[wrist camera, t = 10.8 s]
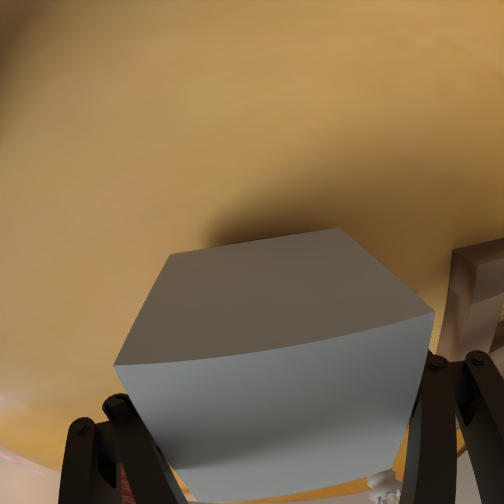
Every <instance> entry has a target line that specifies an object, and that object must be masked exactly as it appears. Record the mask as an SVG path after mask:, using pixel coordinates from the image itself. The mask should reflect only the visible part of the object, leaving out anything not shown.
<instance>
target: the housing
mask: <svg viewBox="0 0 504 504" xmlns="http://www.w3.org/2000/svg"><path fill="white" fill-rule="evenodd" d="M434 316H435V311H434V310H433V309H432V308H431V307H430V306H429V305H428V304H427V303H426V302H425V301H424V300H423V299H421V298H420V297H419V296H418V295H417V294H416V293H415V292H414V291H413V290H412V289H411V288H409V287H408V286H407V285H406V284H405V283H404V282H403V281H402V280H401V279H399V278H398V277H397V276H396V275H395V274H394V273H393V272H391V271H390V270H389V269H388V268H387V267H386V266H385V265H383V264H382V263H381V262H380V261H379V260H378V259H376V258H375V257H374V256H373V255H372V254H371V253H369V252H368V251H367V250H366V249H365V248H363V247H362V246H361V245H360V244H359V243H357V242H356V241H355V240H354V239H353V238H351V237H350V236H349V235H348V234H347V233H345V232H344V231H343V230H342V229H340V228H333V229H326V230H319V231H313V232H307V233H300V234H294V235H287V236H281V237H275V238H268V239H262V240H256V241H250V242H243V243H237V244H231V245H225V246H219V247H212V248H206V249H200V250H194V251H188V252H182V253H176V254H170V256H169V257H168V259H167V261H166V263H165V265H164V267H163V268H162V270H161V272H160V274H159V276H158V278H157V279H156V281H155V283H154V285H153V287H152V289H151V291H150V293H149V294H148V296H147V298H146V300H145V302H144V304H143V306H142V308H141V310H140V312H139V314H138V316H137V318H136V320H135V322H134V324H133V326H132V328H131V330H130V332H129V334H128V336H127V338H126V340H125V342H124V344H123V346H122V348H121V350H120V352H119V354H118V356H117V359H116V361H115V363H114V365H113V366H114V369H115V371H116V373H117V375H118V377H119V378H120V380H121V382H122V384H123V386H124V388H125V390H126V392H127V394H128V396H129V397H130V399H131V401H132V403H133V405H134V406H135V408H136V410H137V412H138V413H139V415H140V417H141V419H142V420H143V422H144V424H145V425H146V427H147V429H148V430H149V432H150V433H151V435H152V437H153V438H154V440H155V441H156V443H157V445H158V446H159V448H160V449H161V451H162V452H163V454H164V455H165V457H166V458H167V460H168V461H169V462H170V464H171V465H172V467H173V468H174V470H175V471H176V472H177V474H178V475H179V477H180V478H181V479H182V481H183V482H184V483H185V485H186V486H187V487H188V489H189V490H190V491H191V493H192V494H193V495H194V496H195V498H196V499H197V500H198V501H199V502H218V501H237V500H250V499H260V498H268V497H276V496H283V495H289V494H295V493H301V492H306V491H311V490H316V489H321V488H325V487H330V486H334V485H338V484H342V483H346V482H350V481H353V480H357V479H360V478H364V477H367V476H370V475H373V474H376V473H379V472H382V471H385V470H388V469H391V467H392V465H393V463H394V460H395V458H396V455H397V453H398V450H399V447H400V445H401V442H402V439H403V437H404V434H405V431H406V428H407V425H408V422H409V419H410V416H411V413H412V410H413V406H414V403H415V400H416V396H417V393H418V389H419V385H420V382H421V378H422V374H423V370H424V366H425V361H426V357H427V352H428V348H429V343H430V338H431V333H432V327H433V322H434Z"/></svg>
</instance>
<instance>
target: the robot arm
mask: <svg viewBox="0 0 504 504" xmlns="http://www.w3.org/2000/svg"><path fill="white" fill-rule="evenodd" d="M102 410H103V411H104V413H105V414H106V416H107V417H108V419H109V421H106V422H101V423H97V424H95V423H94V422H93V420H92V419H90V418H88V417H82V418H78V419H77V420H75V421H73V423H72V424H71V425H70V427H69V430H68V435H67V441H66V447H65V453H64V459H63V466H62V473H61V481H60V490H59V499H58V504H122V488H121V463H122V465H123V468H124V471H125V474H126V477H127V480H128V483H129V486H130V489H131V492H132V495H133V498H134V500H135V503H136V504H188V502H187V500H186V498H185V496H184V495H183V493H182V491H181V489H180V487H179V485H178V483H177V481H176V479H175V477H174V475H173V473H172V471H171V469H170V467H169V465H168V462H167V460H166V458H165V456H164V454H163V452H162V451H161V449H160V448H159V446H158V445H157V443H156V441H155V440H154V438H153V437H152V435H151V433H150V432H149V430H148V429H147V427H146V425H145V424H144V422H143V420H142V419H141V417H140V415H139V413H138V412H137V410H136V408H135V406H134V405H133V403H132V401H131V399H130V397H129V396H128V395H127V394H122V393H119V394H114V395H112V396H110V397H109V398H107V399H106V400H105V402H104V403H103V406H102ZM455 415H456V417H457V420H458V423H459V426H460V429H461V432H462V435H463V438H464V441H465V444H466V447H467V450H468V454H469V457H470V460H471V464H472V467H473V470H474V474H475V478H476V482H477V485H478V489H479V494H480V498H481V503H482V504H504V379H503V377H502V376H501V374H500V372H499V371H498V369H497V367H496V365H495V364H494V362H493V361H492V359H491V357H490V356H489V355H488V354H487V353H485V352H484V351H480V350H473V351H470V352H469V353H468V354H467V355H466V357H465V360H464V361H455V362H449V361H448V360H447V359H446V358H445V357H443V356H440V355H433V354H432V352H431V351H430V350H429V349H428V352H427V357H426V361H425V366H424V370H423V374H422V378H421V382H420V385H419V389H418V393H417V396H416V400H415V403H414V406H413V410H412V413H411V416H410V423H409V435H408V446H407V455H406V463H405V470H404V477H403V484H402V490H401V495H400V501H399V504H455V496H456V475H457V437H456V417H455Z"/></svg>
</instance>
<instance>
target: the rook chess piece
mask: <svg viewBox="0 0 504 504" xmlns="http://www.w3.org/2000/svg"><path fill="white" fill-rule="evenodd" d="M395 474H396V472H395V471H393V470H392V468H391V469H388V470H385V471H382V472H379V473H376V474H373V475H370V476H367V480H368V483H367V486H369V487H371V489H372V491H371V493H370V496H369V499H370V500H373V501H375V504H380V502H381V504H387V502H386V500H387V499H390V500H391V502H392V501H394V500H396V498H395V495H397V497H400V495H401V489H402V484H403V483H402V482H400V481H398V480H396V479H395Z"/></svg>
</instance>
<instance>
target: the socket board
mask: <svg viewBox="0 0 504 504" xmlns="http://www.w3.org/2000/svg"><path fill="white" fill-rule="evenodd" d="M503 300H504V238H502V239H498V240H494V241H489V242H485V243H481V244H477V245H472V246H468V247H464V248H459V249H455V250H453V252H452V262H451V272H450V280H449V288H448V295H447V301H446V307H445V313H444V319H443V324H442V329H441V334H440V339H439V343H438V348H437V352H436V355H440V356H443V357H445V358H446V359H447V360H448V361H449V362H455V361H464V360H465V357H466V355H467V354H468V353H469V352H470V351H473V350H480V351H484V352H485V353H487V354H488V355H489V356H490V357H491V359H492V361H493V362H494V364H495V365H496V367H497V369H498V371H499V372H500V374H501V376H502V377H503V379H504V321H503V322H501V323H499V324H498V320H499V316H500V312H501V308H502V304H503ZM455 417H456V415H455ZM458 429H460V426H459V423H458V420H457V417H456V430H458Z"/></svg>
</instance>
